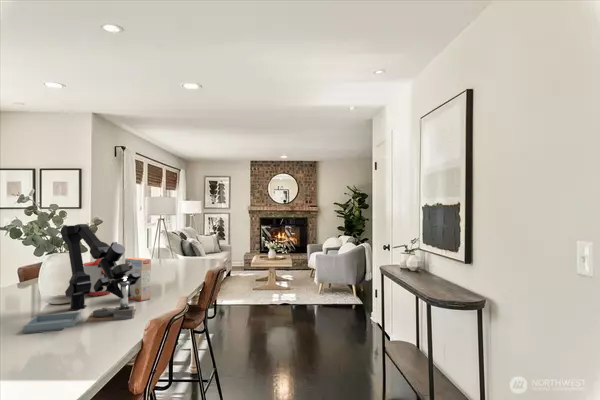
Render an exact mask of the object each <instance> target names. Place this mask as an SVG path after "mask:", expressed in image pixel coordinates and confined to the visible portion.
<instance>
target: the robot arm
mask: <svg viewBox="0 0 600 400" xmlns="http://www.w3.org/2000/svg"><path fill="white" fill-rule="evenodd" d="M60 235H61V238H62V240H63V242H64V243H65V244H66V245H67V251H68V256H69V262H70V263H69V264H70V267H71V274H72V275H71V277H70V279H69V280H68V283H69V285H68V286H67V289H66V290H65V291H64V292H65V297H68V298H70V303H69V304H70V305H69V306H70V307H69V308H67V311H78V310H85V309H86V307H87V304H85V303H86V302H85V301H86V299H85V298H86V296H85V295H87V294H89V293H90V289H91V280H90V275H87V274H86V273H85V272H84V265H83V264H84V262H83V256H82V250H81V243H80V242H81V240H83V241H84V243H85V244H86V245H87V246H88V247H89V254H90V256H91V257H92V259H94V260H97V259H101V261H99V264H98V268H100V267H102V269H103V271H104V273H105V274H104V277H106V278H100V279H98V280H97V282H96V283H95V285H94V290H95V292H99V291H102V290H103V286H106V288H107V289H106V290H105V291H106V292H107V291H108V292H110V293H109V294H113V295H114V296H116V297H117V298H119V299H120V298H121V299H123V298H124V297H123V294H122V292H121V287H119V282H120V281H130V284H128V297H130V296H131V292H130V285H134V284H136V282H137V281H138V279H139V278H140V277H141V276H140V275H139V273H131V274H129V275H128V277H125V275H126V272H127V271H130V270H131V269H132V268H133V267H132V264H131V263H130V262H127V263H125V262H124V263H122V264H121V263H120V264H117V263H116V262H119V261H120V259H121V258H122V256H123V255H124V253H125V252H126V247H125V246H124V245H122V244H119V243H118V242H117V241H113V242H112V243H111V244H110V245H109V244H108V243H106V242H104V241H101V239H99V238H98V237H97V235H96V234H95V233H94V232H93V231H92V229H91V228H90V226H89V224H87V223H78V224H75V225H63V226H62V228H61V229H60Z"/></svg>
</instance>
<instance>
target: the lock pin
mask: <svg viewBox="0 0 600 400" xmlns="http://www.w3.org/2000/svg"><path fill="white" fill-rule="evenodd" d="M128 284H130V281H120V282H119V284H118V286H119V285H120V290H121V292H122V294H123V297H124V298H123V299H121V298H119V299H120V301H119V304H120V305H119V307H120V310H126V309H128V306H129V299H128Z"/></svg>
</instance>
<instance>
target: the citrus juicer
mask: <svg viewBox="0 0 600 400" xmlns="http://www.w3.org/2000/svg"><path fill="white" fill-rule="evenodd" d="M99 261H101V259H95V261H89V262H83V267H84V272H85V273H86V274H87V275H90V280H91V289H90V293H89V294H86V295H87V296H91V297H98V296H97V295H99V296H104V295H110V294H111V293H110V292H108V291H107V292H106V291H105V290H106V289H107V288H106V286H103V290H102V291H99V292H95V290H94V285H95V283H96V282H97V280H98V279H100V278H106V277H104V274H105V273H104V271H103V269H102V267H100V268H98V264H99Z"/></svg>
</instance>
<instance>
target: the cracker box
mask: <svg viewBox="0 0 600 400" xmlns="http://www.w3.org/2000/svg"><path fill="white" fill-rule="evenodd" d="M127 262H130V263H131V264H132V267H133V268H132V269H131V270H130V271H127V272H126V275H125V276H124V278H125V277H128V275H129V274H131V273H139V275H140V276H141V277H140V278H139V279H138V281H137V282H136V284H134V285H130V292H131V296H130V297H128V300H133V301H138V302H143V301H148V300H150V299H151V270H152V269H151V268H152V265H151V264H152V259H151V258H146V257H145V258H143V257H127V258H125V260H124V264H125V263H127Z"/></svg>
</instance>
